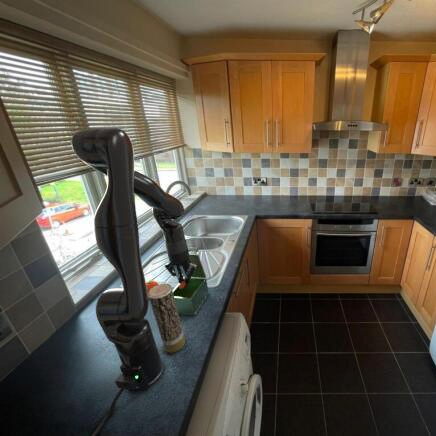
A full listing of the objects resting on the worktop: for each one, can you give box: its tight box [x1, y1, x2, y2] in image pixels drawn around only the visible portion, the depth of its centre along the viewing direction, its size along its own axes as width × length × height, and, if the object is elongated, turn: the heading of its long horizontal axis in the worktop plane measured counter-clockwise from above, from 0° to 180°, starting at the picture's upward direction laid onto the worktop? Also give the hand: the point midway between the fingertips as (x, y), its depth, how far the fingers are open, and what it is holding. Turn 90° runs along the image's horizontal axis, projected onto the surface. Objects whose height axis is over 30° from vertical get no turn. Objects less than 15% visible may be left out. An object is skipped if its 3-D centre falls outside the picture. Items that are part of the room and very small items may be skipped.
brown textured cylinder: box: [148, 283, 186, 354], centre depth 81 cm, size 7×7×25 cm
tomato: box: [146, 279, 159, 292], centre depth 110 cm, size 8×7×7 cm
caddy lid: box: [182, 246, 207, 279], centre depth 106 cm, size 14×11×6 cm
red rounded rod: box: [179, 278, 191, 289], centre depth 100 cm, size 8×2×2 cm, turn 174°
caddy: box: [172, 276, 210, 317], centre depth 104 cm, size 14×11×9 cm
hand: (185, 283), depth 100 cm, fingers closed on red rounded rod, 2 cm apart
